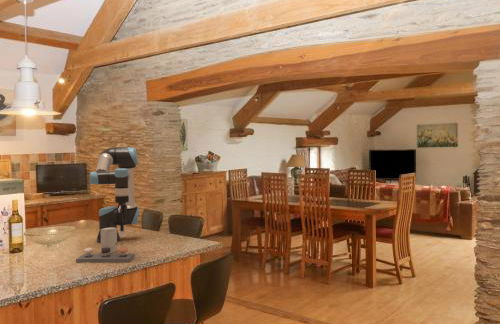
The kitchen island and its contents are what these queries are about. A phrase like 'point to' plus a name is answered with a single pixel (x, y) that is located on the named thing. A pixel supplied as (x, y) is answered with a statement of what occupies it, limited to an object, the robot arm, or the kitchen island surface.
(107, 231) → the skincare box
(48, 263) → the kitchen island surface
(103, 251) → the button black
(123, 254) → the button terracotta
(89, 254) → the button cream
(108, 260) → the button board
